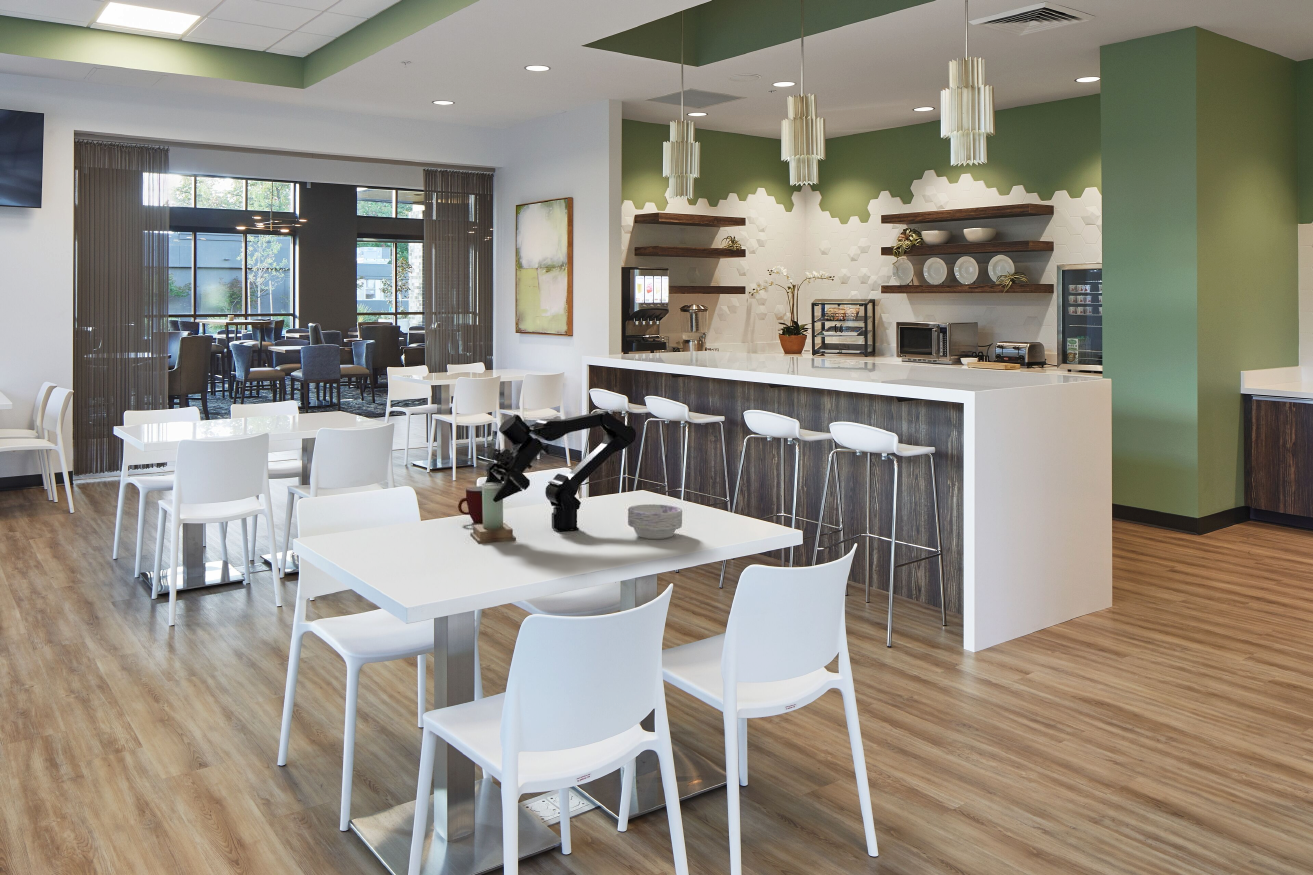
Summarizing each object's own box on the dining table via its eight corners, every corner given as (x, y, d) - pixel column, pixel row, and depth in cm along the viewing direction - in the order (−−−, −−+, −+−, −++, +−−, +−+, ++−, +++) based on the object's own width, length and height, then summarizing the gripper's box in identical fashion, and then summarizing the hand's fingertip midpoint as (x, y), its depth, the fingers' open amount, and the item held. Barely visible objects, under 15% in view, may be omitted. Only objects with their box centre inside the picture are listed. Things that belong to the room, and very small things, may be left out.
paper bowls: (690, 533, 283) (690, 505, 282) (668, 544, 269) (668, 515, 268) (642, 527, 289) (642, 501, 288) (618, 538, 275) (618, 510, 274)
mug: (465, 526, 289) (464, 492, 288) (454, 521, 295) (453, 488, 294) (498, 522, 295) (498, 489, 293) (487, 517, 301) (486, 485, 300)
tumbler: (505, 524, 278) (504, 482, 276) (502, 529, 272) (502, 486, 270) (483, 524, 277) (482, 482, 276) (480, 529, 271) (479, 486, 270)
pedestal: (506, 532, 282) (506, 522, 281) (515, 540, 272) (515, 529, 272) (470, 535, 278) (470, 524, 277) (478, 543, 268) (478, 532, 268)
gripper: (491, 433, 281) (455, 474, 277) (518, 440, 266) (480, 484, 261) (517, 458, 286) (482, 500, 282) (545, 467, 271) (508, 511, 266)
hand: (487, 498), depth 273 cm, fingers open, 9 cm apart
